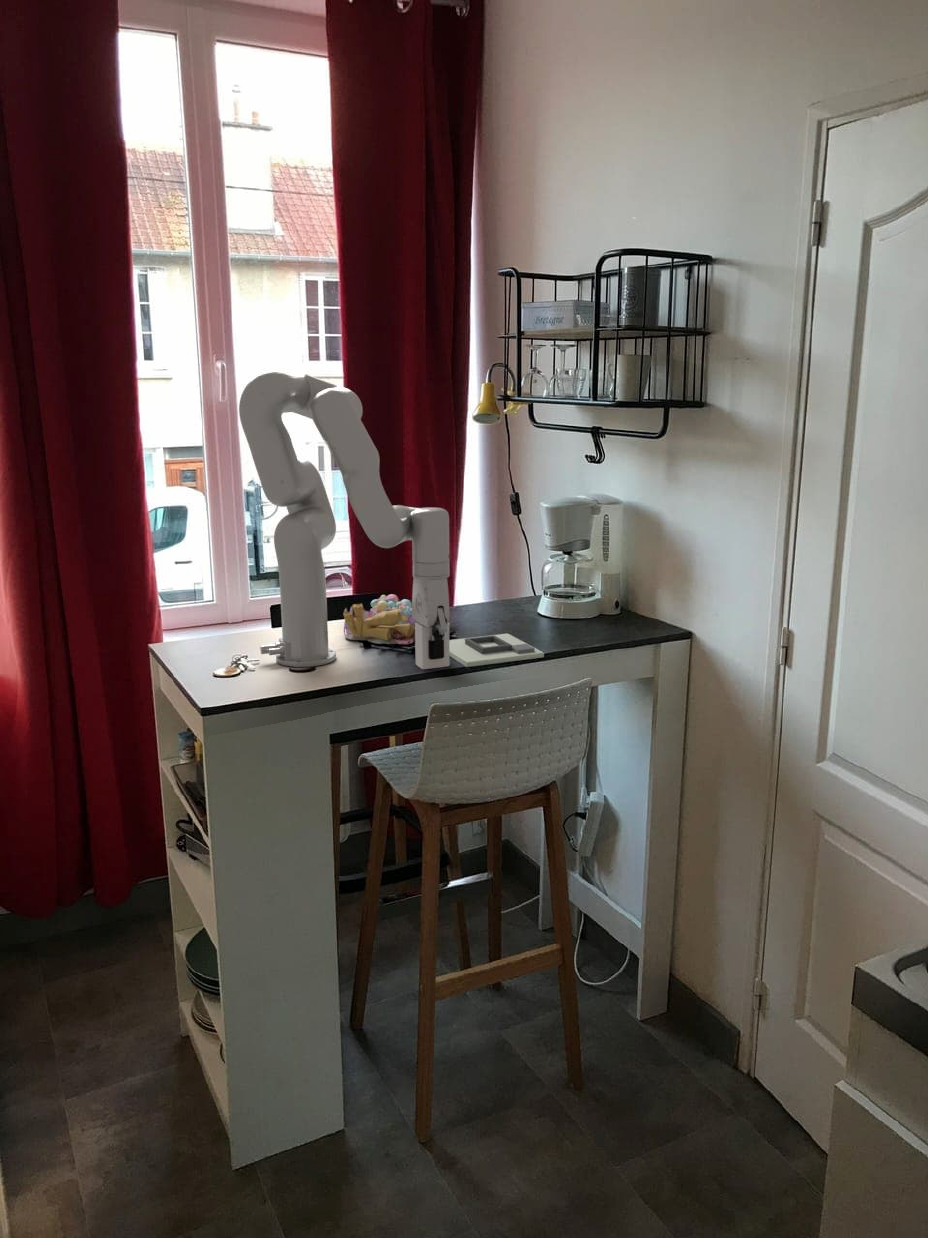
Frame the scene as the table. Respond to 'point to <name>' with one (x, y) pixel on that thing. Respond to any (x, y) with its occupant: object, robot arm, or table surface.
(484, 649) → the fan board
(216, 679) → the table surface
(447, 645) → the plug
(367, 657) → the table surface
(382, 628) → the candy landscape model
